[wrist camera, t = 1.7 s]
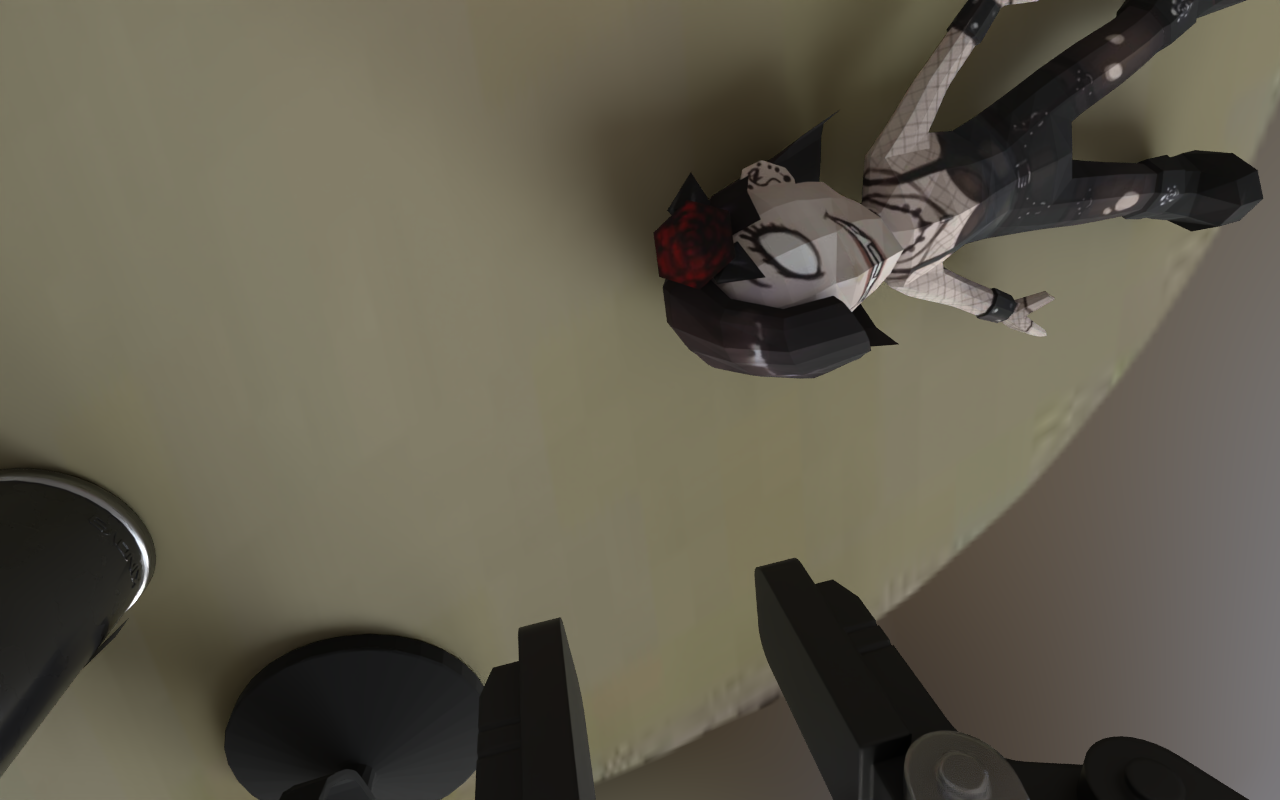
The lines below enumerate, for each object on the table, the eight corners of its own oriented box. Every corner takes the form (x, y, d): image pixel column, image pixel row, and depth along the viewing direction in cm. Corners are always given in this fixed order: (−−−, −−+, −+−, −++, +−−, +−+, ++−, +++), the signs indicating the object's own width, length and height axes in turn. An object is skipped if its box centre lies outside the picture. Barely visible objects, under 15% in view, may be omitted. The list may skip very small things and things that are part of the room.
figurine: (1291, 281, 32) (770, 546, 28) (1115, 251, 40) (694, 453, 36) (1371, -213, 23) (624, 79, 19) (1124, -122, 31) (566, 96, 27)
